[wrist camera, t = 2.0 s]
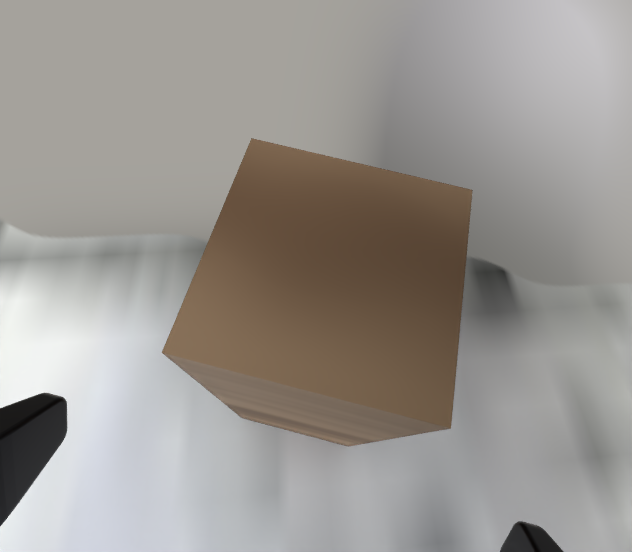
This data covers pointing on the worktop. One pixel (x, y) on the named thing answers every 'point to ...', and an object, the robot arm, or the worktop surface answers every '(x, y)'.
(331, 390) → the walnut block
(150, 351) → the worktop surface
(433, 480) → the worktop surface
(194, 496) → the worktop surface
